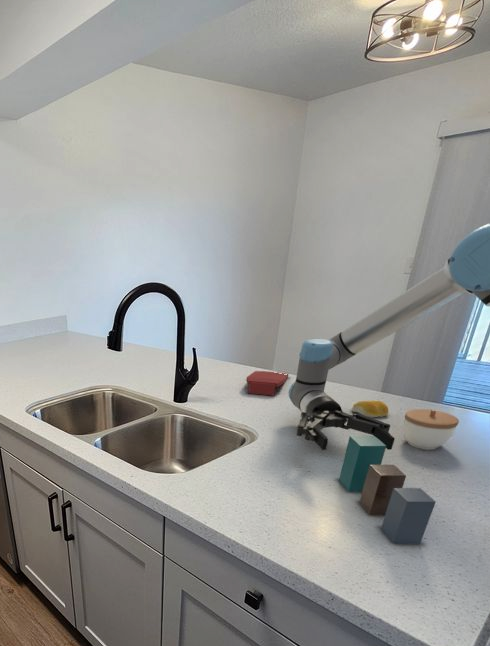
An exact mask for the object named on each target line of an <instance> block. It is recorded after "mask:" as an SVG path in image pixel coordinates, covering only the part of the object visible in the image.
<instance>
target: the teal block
mask: <svg viewBox="0 0 490 646" xmlns="http://www.w3.org/2000/svg"><path fill="white" fill-rule="evenodd" d="M386 450H387V449H386V445H385V444H384V443H382V442H381V441H380V440H379V439H378V438H376V437H375V436H374V435H350V436H349V437H348V442H347V446H346V450H345V453H344V456H343V457H344V458H343V462H342V466H341V470H340V473H339V478H338V481H339V482H340V483H341V484H342V486H343V487H344V488H345V489H346V490H347V492H349V493H350V492H352V493H353V492H359V493H360V492H361V493H362V491H363V487H364V483H365V480H366V476H367V473H368V469H369V466H370V465H382V462H383V459H384V455H385V452H386Z"/></svg>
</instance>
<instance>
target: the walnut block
mask: <svg viewBox="0 0 490 646" xmlns="http://www.w3.org/2000/svg"><path fill="white" fill-rule="evenodd" d="M406 478H407V475H406V473H404V472H403V471H402V470H401V469H399V467H397V466H396V465H395V464H381V465H370V466H369V469H368V473H367V476H366V480H365V483H364V487H363V491H362V492H361V495H360V497H359V502H358V503H359V504H360V505H361V507H362V508H363V509H364V510H365V511H366V512H367V514H368V515H369V516H385V514H386V511H387V508H388V504H389V501H390V498H391V495H392V492H393V489H394V488H404V484H405V482H406V481H405V480H406Z"/></svg>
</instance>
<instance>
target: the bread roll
mask: <svg viewBox="0 0 490 646" xmlns="http://www.w3.org/2000/svg"><path fill="white" fill-rule="evenodd" d="M351 410H352V413H354V412H359V413H361V414H362V415H365V416H367V417H370V418H373V419H374V418H382V417H386V416H388V413H389V407H388V406H387V404H386V403H385V402H383V401H380V400H361V401H357V402H356V403H354V404H353V405H352V408H351Z"/></svg>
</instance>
